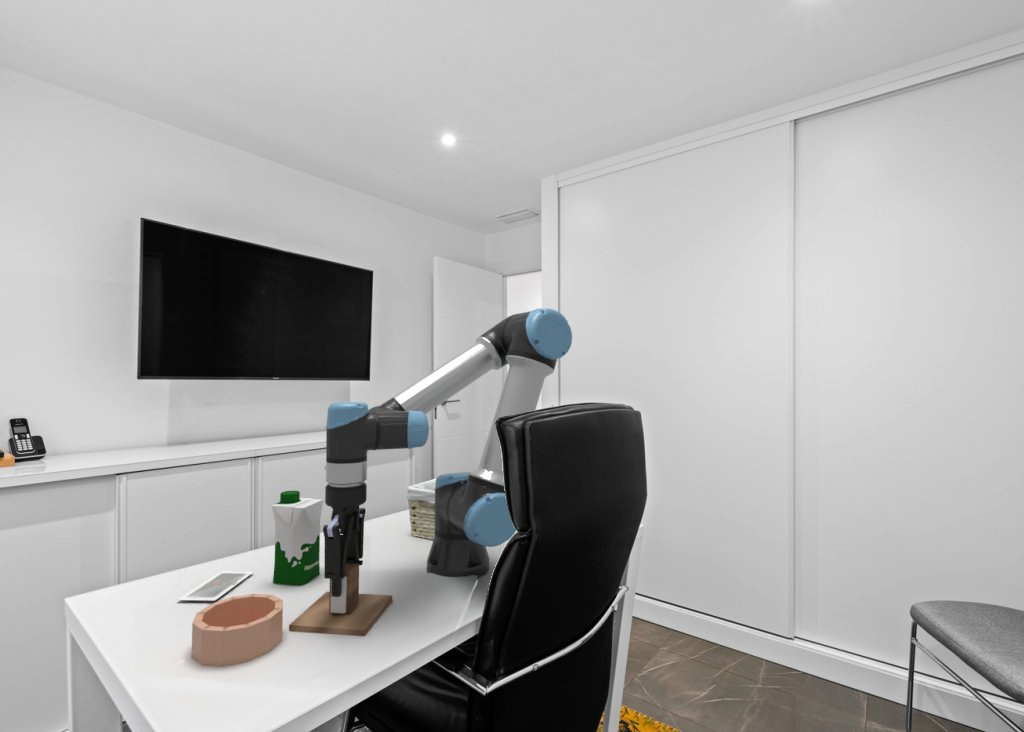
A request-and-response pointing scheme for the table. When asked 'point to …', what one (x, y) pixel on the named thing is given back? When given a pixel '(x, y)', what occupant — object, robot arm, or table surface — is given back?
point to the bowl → (237, 629)
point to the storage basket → (422, 509)
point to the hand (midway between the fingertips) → (344, 605)
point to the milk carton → (296, 539)
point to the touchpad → (216, 586)
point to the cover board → (342, 621)
